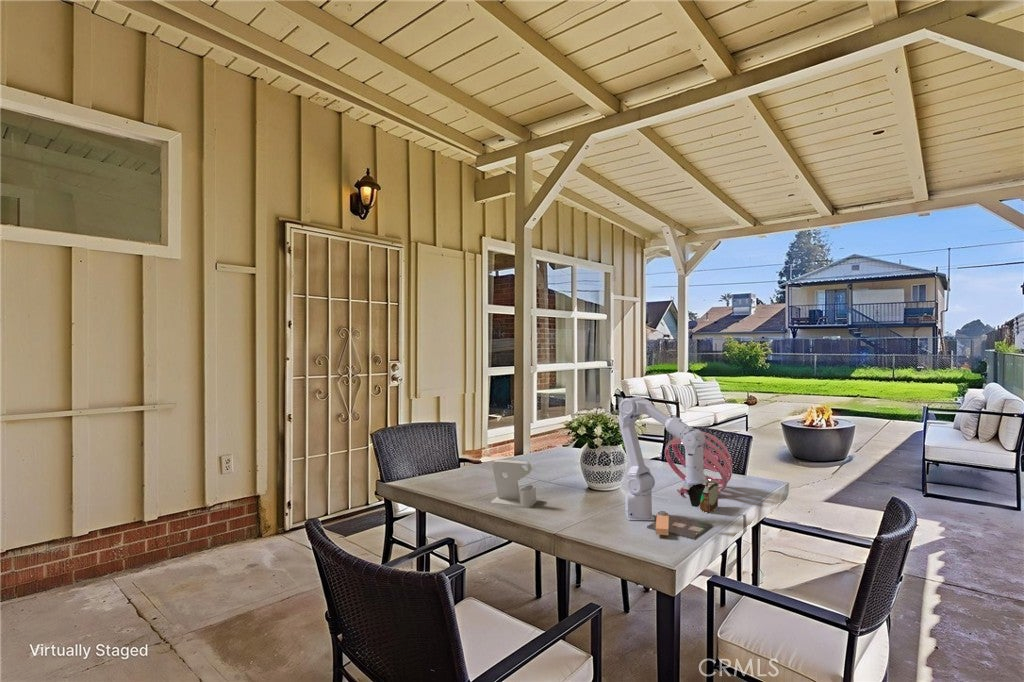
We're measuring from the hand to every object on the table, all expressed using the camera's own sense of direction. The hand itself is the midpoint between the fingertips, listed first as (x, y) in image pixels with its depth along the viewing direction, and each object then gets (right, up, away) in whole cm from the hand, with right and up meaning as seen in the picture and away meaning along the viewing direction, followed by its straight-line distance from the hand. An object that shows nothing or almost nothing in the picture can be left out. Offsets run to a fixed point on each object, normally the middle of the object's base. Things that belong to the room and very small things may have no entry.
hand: (695, 506), depth 174 cm
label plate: (-4, -9, +4) cm, 10 cm away
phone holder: (-61, -10, +36) cm, 72 cm away
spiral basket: (+18, -9, +43) cm, 47 cm away
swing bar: (-11, -8, +2) cm, 13 cm away
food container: (+12, -9, +23) cm, 27 cm away
